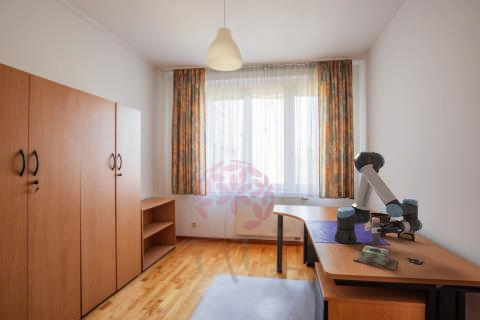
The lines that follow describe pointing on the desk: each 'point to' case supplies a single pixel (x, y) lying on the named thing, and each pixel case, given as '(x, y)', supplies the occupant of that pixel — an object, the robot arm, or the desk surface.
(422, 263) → the blender logo cutout
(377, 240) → the peg
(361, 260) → the socket
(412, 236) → the ammunition clip
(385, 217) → the plant pot
